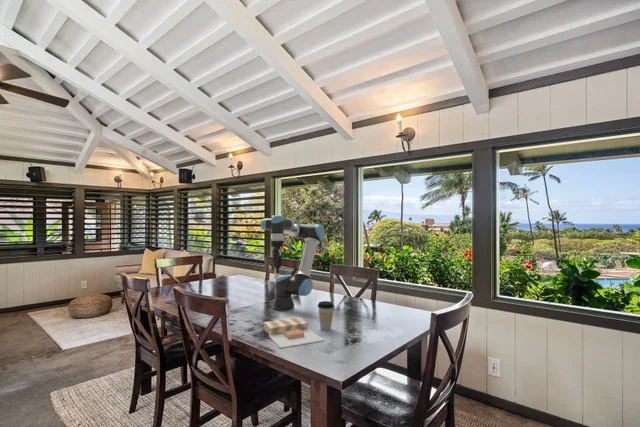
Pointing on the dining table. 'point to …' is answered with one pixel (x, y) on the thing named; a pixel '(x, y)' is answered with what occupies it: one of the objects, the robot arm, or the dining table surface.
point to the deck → (285, 325)
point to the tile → (294, 334)
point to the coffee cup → (325, 315)
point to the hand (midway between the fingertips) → (276, 278)
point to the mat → (296, 339)
